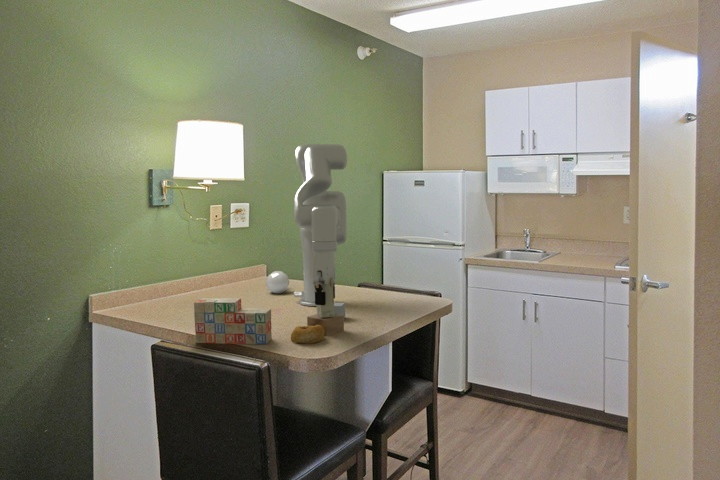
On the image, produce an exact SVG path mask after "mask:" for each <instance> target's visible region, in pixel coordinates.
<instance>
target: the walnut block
mask: <svg viewBox="0 0 720 480" xmlns="http://www.w3.org/2000/svg"><path fill="white" fill-rule="evenodd" d="M334 315H335V316H334V317H325V318H321V317H320V316H319V315H318V314H317V313H315V314H313V315H312V314H311V315H310V316H309V315H308V316H306V319H307V320H306V321H307V322H306V326H310V325H311V326H315V325H321V326H322V328H323V329H324V331H325V333H324V337H325V336H326V337H327V336H330V335H333V334H338V333H341V332H343V331H344V330H345V326H344V325H345V321H344V320H345V318H344V315H338V314H334Z"/></svg>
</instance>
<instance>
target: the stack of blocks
mask: <svg viewBox="0 0 720 480" xmlns="http://www.w3.org/2000/svg"><path fill="white" fill-rule="evenodd" d="M193 307H194V308H193V312H194V314H193V315H194V316H193V317H194V325H195V326H194V329H195V330H194V331H195V334H194V335H195V343H197V344H199V343H200V344H230V345H231V344H232V345H233V344H234V345H235V344H239V345H245V344H246V345H267V344H268V343H269V342H270V341H271V340H272V339H273V337H272V336H273V333H272V308H261V307H260V308H255V307H254V308H253V307H251V308H249V307H248V308H247V307H246V308H245V307H243V308H242V298H239V297H238V298H237V297H235V298H234V297H226V298H225V297H221V298H218V297H217V298H216V297H215V298H212V297H211V298H210V297H209V298H207V297H202V298H200V299H198V300H196V301H194V302H193Z"/></svg>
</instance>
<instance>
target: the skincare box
mask: <svg viewBox="0 0 720 480" xmlns="http://www.w3.org/2000/svg"><path fill="white" fill-rule="evenodd" d="M320 282H321V281H320ZM321 286H323V285H321ZM324 292H326V304H325V305H317V306H316V314H318V315H319V316H320V317H321V318H325V317H334V316H335V315H334V303H335V298H334V296H333V278H330V283H329V284H327V285H326V286H325V290H324Z"/></svg>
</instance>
